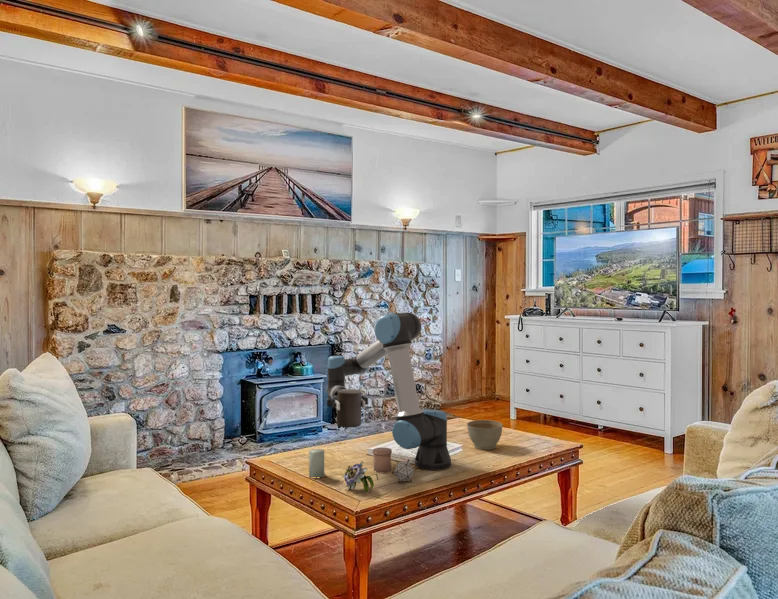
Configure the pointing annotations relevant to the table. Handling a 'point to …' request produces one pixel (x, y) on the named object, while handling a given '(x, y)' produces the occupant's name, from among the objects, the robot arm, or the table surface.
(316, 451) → the pale green cylinder
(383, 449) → the peach round-topped cylinder
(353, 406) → the pillar candle
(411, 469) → the game die
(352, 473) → the passion flower
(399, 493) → the table surface
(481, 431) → the planter bowl
